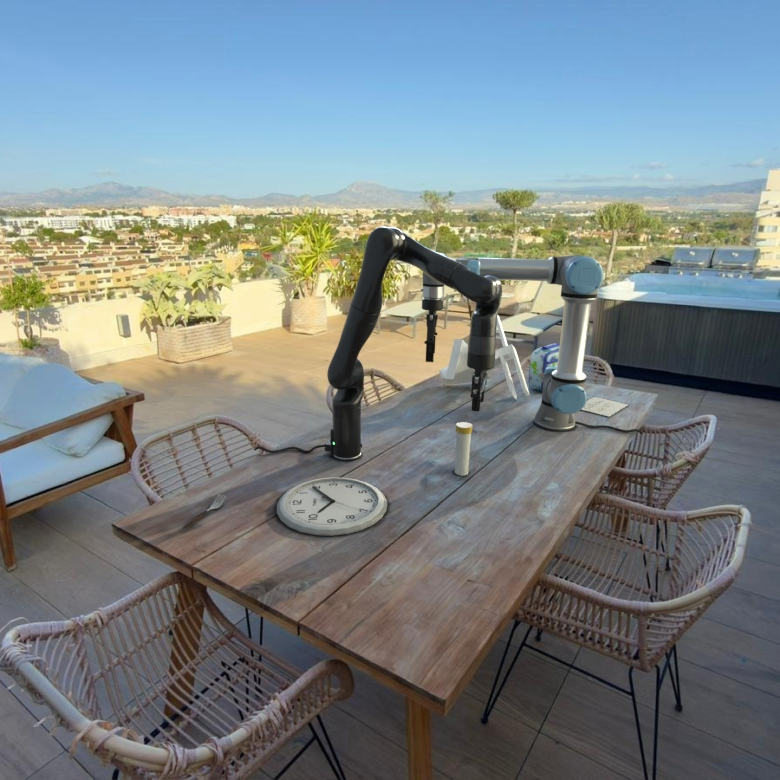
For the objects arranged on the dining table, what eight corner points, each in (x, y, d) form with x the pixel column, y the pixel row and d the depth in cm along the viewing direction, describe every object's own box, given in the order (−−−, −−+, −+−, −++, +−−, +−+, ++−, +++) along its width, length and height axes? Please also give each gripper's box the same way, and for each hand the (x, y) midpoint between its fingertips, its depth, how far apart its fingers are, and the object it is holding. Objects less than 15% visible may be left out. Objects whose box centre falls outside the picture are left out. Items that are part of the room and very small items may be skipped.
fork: (178, 529, 130) (177, 522, 129) (219, 499, 144) (218, 493, 144) (187, 531, 129) (186, 524, 129) (227, 501, 143) (226, 494, 143)
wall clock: (392, 527, 129) (268, 531, 127) (391, 533, 130) (269, 537, 127) (383, 473, 158) (282, 475, 155) (383, 478, 158) (282, 480, 156)
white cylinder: (462, 476, 160) (465, 429, 156) (451, 472, 163) (454, 426, 159) (470, 472, 163) (474, 426, 159) (460, 468, 166) (462, 422, 161)
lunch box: (544, 395, 239) (549, 351, 233) (524, 390, 247) (528, 347, 240) (571, 384, 257) (577, 343, 251) (552, 380, 264) (556, 339, 258)
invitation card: (608, 416, 214) (573, 407, 224) (608, 416, 214) (573, 408, 224) (628, 404, 229) (594, 396, 238) (628, 405, 229) (594, 397, 238)
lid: (465, 435, 156) (466, 429, 155) (452, 430, 159) (452, 424, 158) (475, 431, 159) (475, 425, 159) (462, 426, 162) (462, 420, 162)
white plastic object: (461, 429, 252) (437, 405, 227) (444, 352, 274) (420, 323, 250) (535, 404, 240) (518, 377, 215) (510, 326, 262) (492, 293, 237)
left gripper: (471, 344, 151) (468, 397, 156) (463, 354, 138) (460, 412, 143) (498, 346, 149) (493, 400, 154) (492, 357, 136) (487, 416, 141)
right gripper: (424, 293, 195) (422, 349, 202) (419, 302, 172) (417, 365, 178) (444, 294, 195) (441, 350, 201) (442, 303, 171) (439, 366, 177)
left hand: (477, 406), depth 148 cm, fingers open, 8 cm apart
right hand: (430, 357), depth 190 cm, fingers open, 13 cm apart
